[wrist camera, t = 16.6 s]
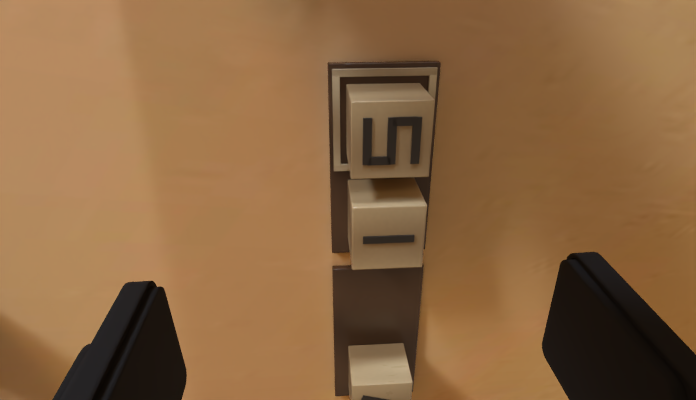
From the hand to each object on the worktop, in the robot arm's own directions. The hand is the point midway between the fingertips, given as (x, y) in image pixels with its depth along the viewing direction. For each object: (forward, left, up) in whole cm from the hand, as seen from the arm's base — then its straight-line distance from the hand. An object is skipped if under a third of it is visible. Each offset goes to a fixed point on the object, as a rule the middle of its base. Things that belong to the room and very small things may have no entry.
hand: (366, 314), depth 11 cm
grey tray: (+1, +4, -17) cm, 17 cm away
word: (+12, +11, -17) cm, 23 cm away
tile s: (-1, +2, -16) cm, 17 cm away
